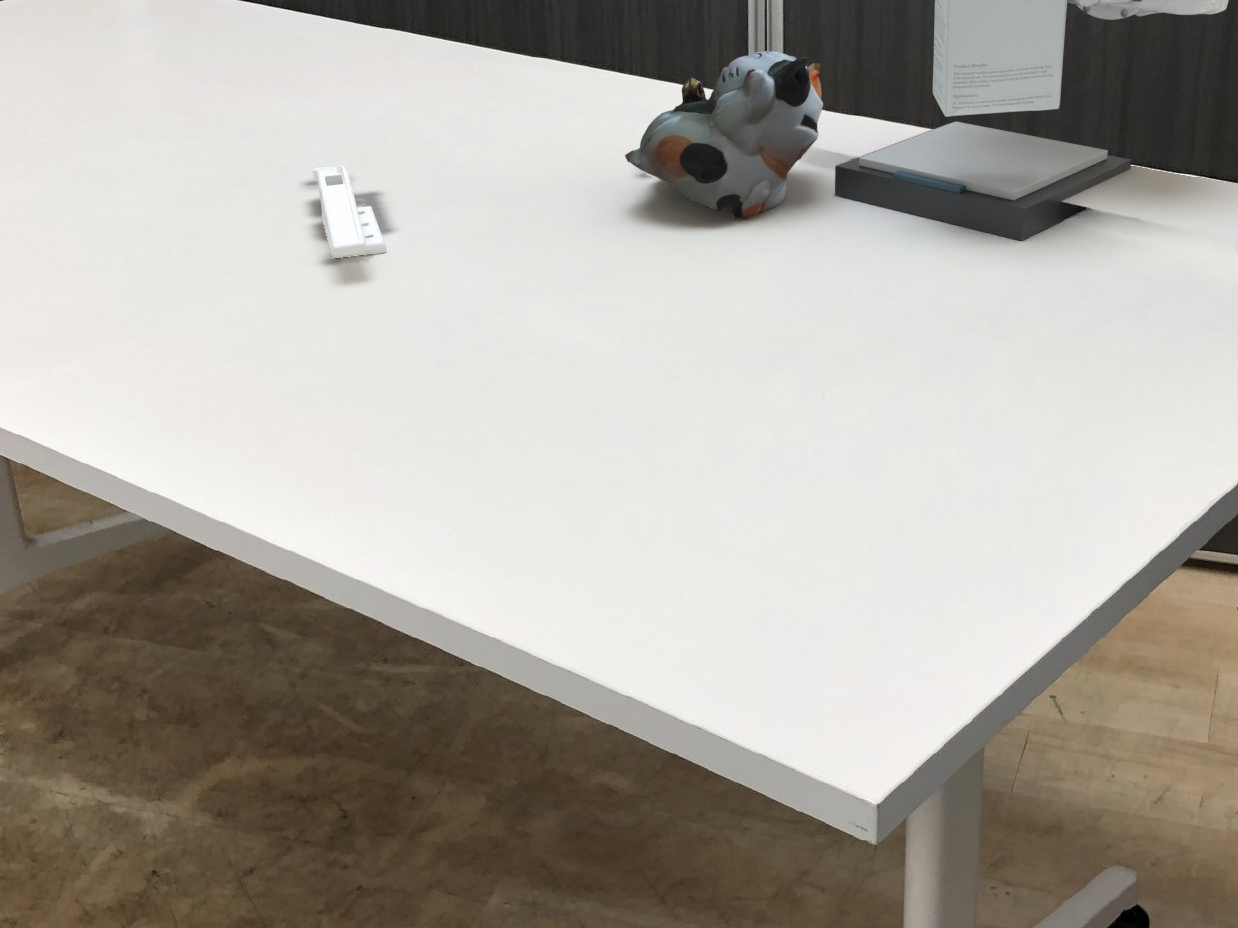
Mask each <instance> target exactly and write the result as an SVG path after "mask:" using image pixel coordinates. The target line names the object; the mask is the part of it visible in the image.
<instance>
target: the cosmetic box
mask: <svg viewBox="0 0 1238 928" xmlns="http://www.w3.org/2000/svg"><path fill="white" fill-rule="evenodd" d="M1067 9H1068V3H1067V0H934V27H933V28H934V29H933V67H932V68H933V70H932V95H933V96H934V99H935V100H936V102H937V104H938V106H939V108H940V110H941V112H942V113H943V115H944V117H957V116H958V117H959V116H970V115H987V114H997V113H998V114H999V113H1000V114H1001V113H1014V112H1030V111H1031V112H1032V111H1033V112H1038V111H1051V110H1058V109H1060V105H1061V93H1062V79H1063V78H1062V77H1063V61H1064V51H1065V50H1064V49H1065V36H1066V20H1067Z"/></svg>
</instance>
